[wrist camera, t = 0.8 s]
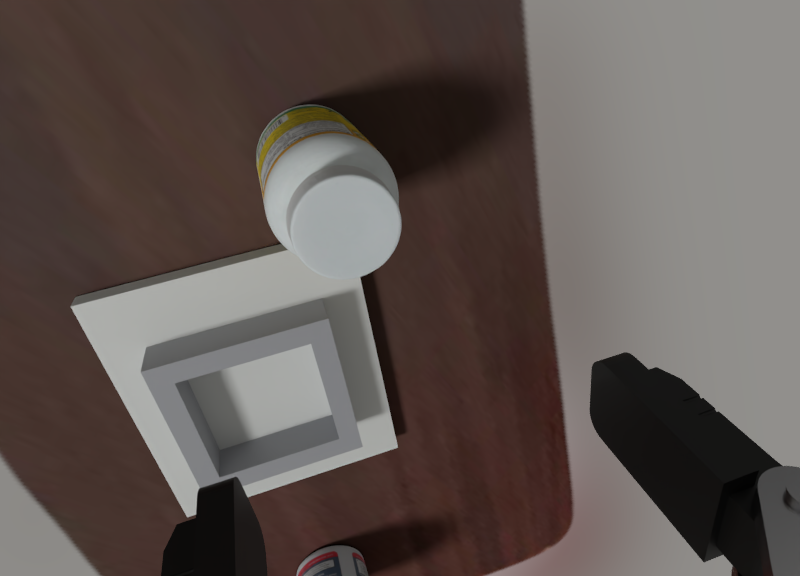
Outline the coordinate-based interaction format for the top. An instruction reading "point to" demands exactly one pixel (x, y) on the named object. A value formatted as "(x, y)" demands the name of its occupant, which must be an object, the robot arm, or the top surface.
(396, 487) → the top surface
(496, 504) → the top surface
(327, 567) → the pill bottle
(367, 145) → the supplement bottle
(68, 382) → the top surface
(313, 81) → the top surface
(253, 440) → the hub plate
